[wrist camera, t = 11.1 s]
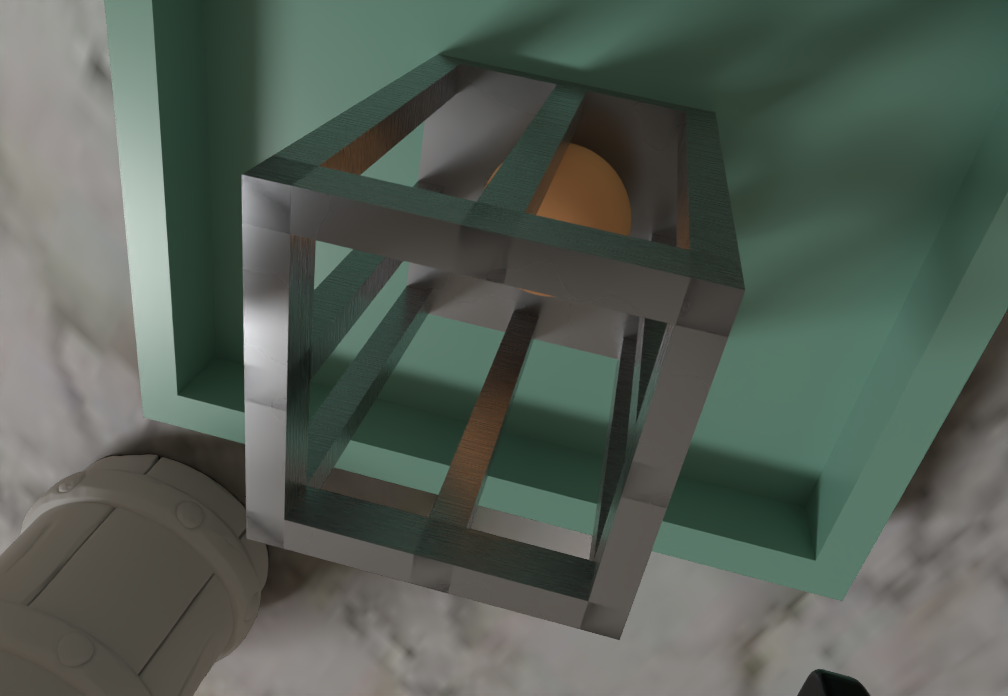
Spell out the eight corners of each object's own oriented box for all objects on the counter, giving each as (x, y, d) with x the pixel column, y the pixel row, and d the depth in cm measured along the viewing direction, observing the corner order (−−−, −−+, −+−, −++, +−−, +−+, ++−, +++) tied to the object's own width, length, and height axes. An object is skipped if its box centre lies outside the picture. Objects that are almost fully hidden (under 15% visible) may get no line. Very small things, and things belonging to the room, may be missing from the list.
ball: (616, 141, 17) (627, 118, 14) (632, 282, 17) (647, 290, 14) (476, 162, 17) (458, 144, 14) (495, 301, 17) (481, 312, 14)
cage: (715, 112, 16) (745, 289, 8) (643, 354, 19) (619, 639, 11) (437, 54, 16) (241, 174, 9) (410, 299, 19) (246, 538, 12)
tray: (1123, -50, 14) (1205, -41, 12) (825, 529, 21) (842, 601, 19) (164, -230, 15) (80, -252, 13) (194, 368, 22) (143, 417, 20)
